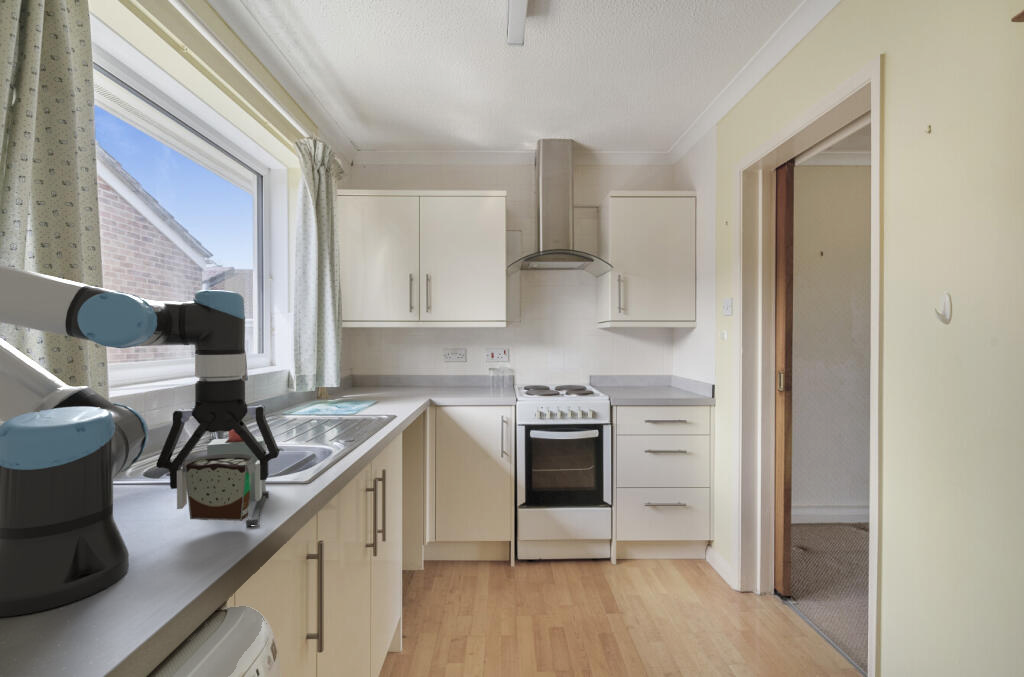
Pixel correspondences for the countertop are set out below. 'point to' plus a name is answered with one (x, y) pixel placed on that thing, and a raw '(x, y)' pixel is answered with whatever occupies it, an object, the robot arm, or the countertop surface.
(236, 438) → the button
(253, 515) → the guide rail
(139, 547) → the countertop surface
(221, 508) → the food container
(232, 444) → the cabinet
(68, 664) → the countertop surface
